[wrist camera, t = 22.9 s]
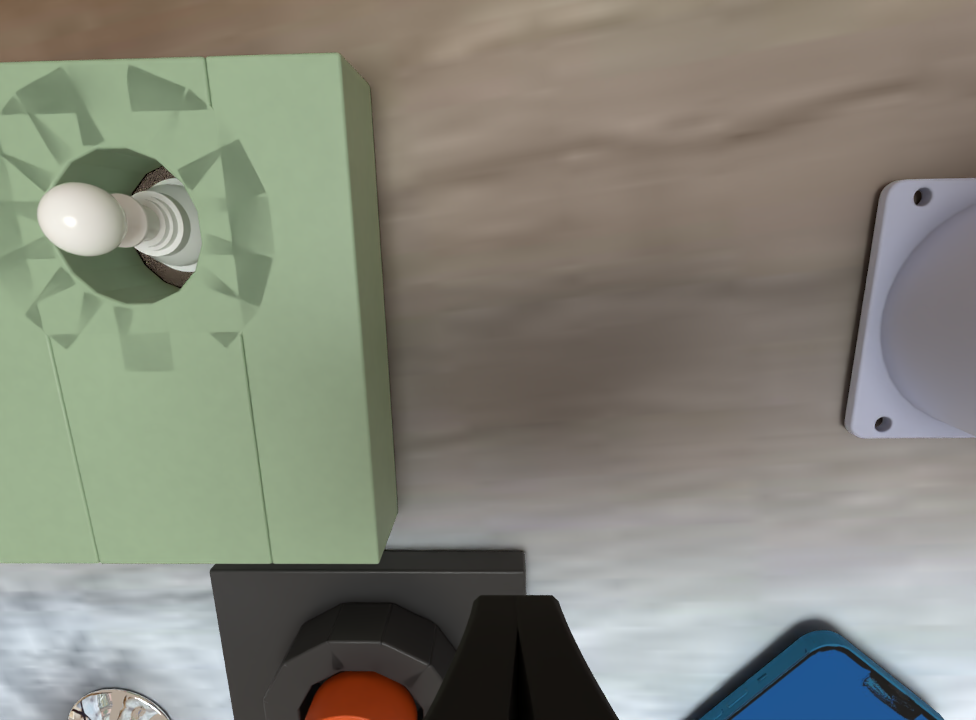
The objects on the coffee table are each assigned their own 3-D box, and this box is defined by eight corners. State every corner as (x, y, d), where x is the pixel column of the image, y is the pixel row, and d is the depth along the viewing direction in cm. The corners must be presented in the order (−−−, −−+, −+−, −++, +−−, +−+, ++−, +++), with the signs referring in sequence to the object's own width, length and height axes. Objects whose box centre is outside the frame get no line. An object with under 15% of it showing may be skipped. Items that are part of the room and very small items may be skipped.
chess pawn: (173, 285, 17) (42, 307, 12) (126, 201, 16) (-32, 189, 12) (249, 250, 17) (145, 259, 12) (204, 163, 16) (75, 135, 11)
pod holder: (370, 84, 15) (339, 51, 13) (398, 513, 19) (379, 565, 16) (-26, 95, 16) (-144, 65, 13) (72, 513, 19) (-6, 564, 16)
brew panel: (524, 550, 19) (528, 608, 16) (524, 747, 21) (528, 829, 18) (225, 549, 19) (176, 606, 17) (255, 743, 22) (217, 823, 19)
